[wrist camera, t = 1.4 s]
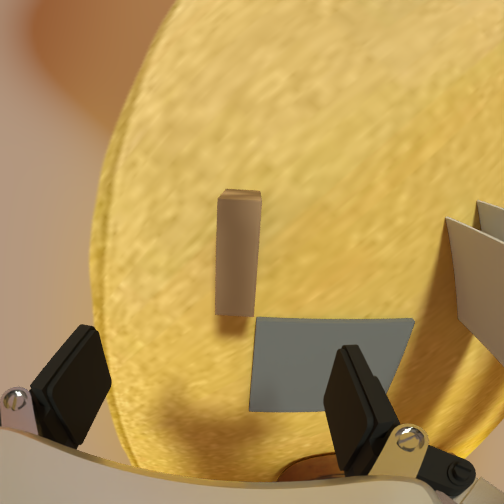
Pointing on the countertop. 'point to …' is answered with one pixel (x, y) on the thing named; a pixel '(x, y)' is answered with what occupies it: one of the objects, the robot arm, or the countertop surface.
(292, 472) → the ceramic pitcher
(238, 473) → the countertop surface
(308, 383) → the mat
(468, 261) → the thin beige panel
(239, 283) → the brown angular block
